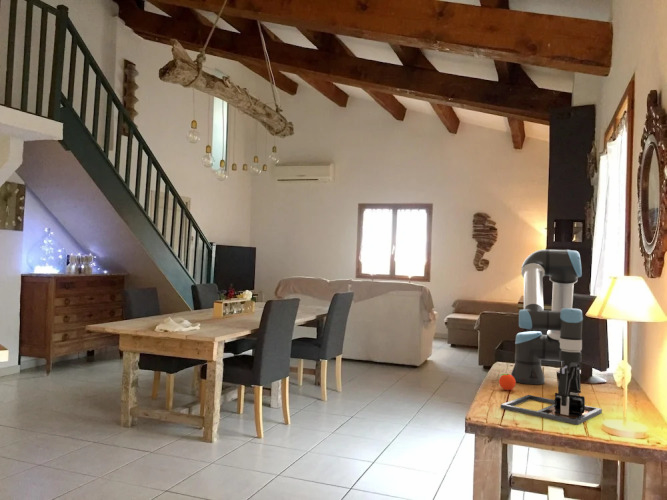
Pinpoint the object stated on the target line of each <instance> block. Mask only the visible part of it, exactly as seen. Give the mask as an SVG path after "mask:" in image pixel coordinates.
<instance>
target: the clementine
mask: <svg viewBox="0 0 667 500" xmlns="http://www.w3.org/2000/svg"><path fill="white" fill-rule="evenodd" d="M499 376H500V377H499ZM498 377H499V380H498V383H499V387H501V389H503V390H504V391H511V390H514V388H515V387H516V384H517V382H516V381H515V378H514V377H513V376H512V375H511V374H509V373H502V374H499V375H498Z"/></svg>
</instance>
